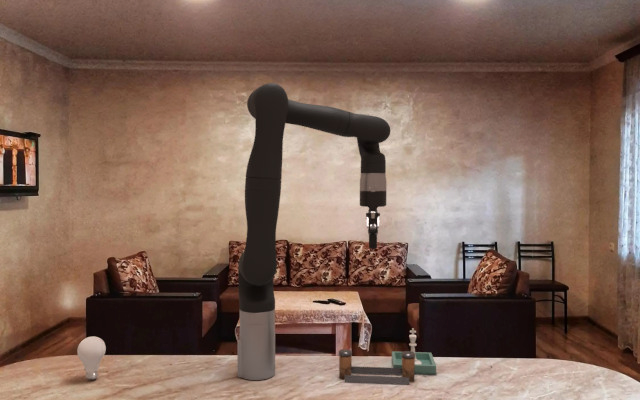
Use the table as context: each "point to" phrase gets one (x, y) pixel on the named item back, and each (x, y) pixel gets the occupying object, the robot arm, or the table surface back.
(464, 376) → the table surface
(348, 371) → the rail
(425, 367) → the tray
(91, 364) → the light bulb
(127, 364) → the table surface
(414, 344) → the chess piece
